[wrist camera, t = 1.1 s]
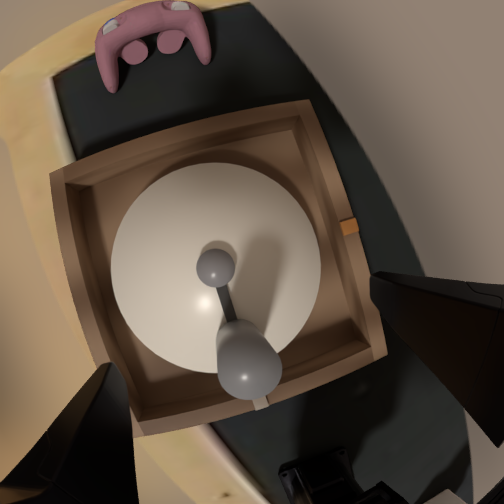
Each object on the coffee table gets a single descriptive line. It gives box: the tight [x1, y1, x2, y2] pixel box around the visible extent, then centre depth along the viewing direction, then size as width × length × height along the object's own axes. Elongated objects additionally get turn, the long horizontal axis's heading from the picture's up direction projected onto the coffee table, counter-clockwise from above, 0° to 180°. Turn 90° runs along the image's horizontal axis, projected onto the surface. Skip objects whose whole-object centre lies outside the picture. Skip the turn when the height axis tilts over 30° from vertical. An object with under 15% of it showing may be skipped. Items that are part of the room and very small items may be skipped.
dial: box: [111, 163, 321, 400], centre depth 17 cm, size 14×14×7 cm
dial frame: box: [49, 99, 388, 438], centre depth 20 cm, size 19×19×4 cm
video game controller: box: [95, 0, 211, 93], centre depth 19 cm, size 10×5×7 cm, turn 109°
